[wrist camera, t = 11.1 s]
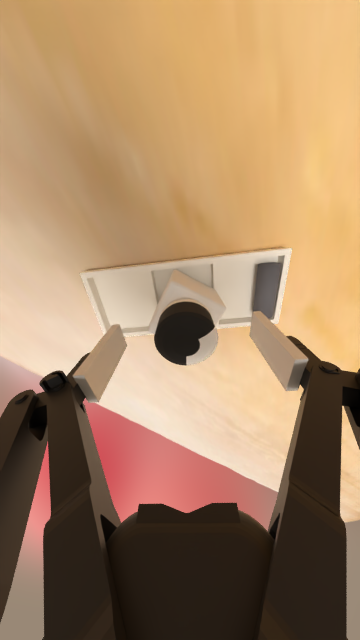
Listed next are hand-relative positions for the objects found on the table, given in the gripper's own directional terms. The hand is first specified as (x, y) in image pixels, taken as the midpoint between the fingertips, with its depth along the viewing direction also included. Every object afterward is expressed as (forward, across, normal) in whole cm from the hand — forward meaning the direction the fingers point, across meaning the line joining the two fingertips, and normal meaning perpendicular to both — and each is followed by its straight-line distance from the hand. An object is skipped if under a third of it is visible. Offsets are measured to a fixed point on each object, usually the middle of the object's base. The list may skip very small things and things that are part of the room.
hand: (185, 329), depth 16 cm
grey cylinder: (+10, +11, -1) cm, 15 cm away
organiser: (+12, 0, -1) cm, 12 cm away
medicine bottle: (+10, 0, -1) cm, 10 cm away
